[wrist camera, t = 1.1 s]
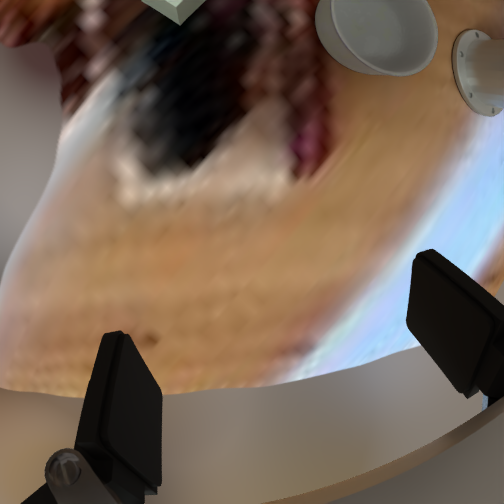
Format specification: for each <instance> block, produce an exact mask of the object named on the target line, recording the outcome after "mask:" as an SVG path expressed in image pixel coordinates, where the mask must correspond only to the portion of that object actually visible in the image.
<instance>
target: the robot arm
mask: <svg viewBox="0 0 504 504" xmlns="http://www.w3.org/2000/svg"><path fill="white" fill-rule="evenodd" d="M452 60H453V70H454V76H455V79H456V83H457V86H458V88H459V91H460V93H461V95H462V97H463V98H464V100H465V102H466V103H467V104H468V106H469V107H470V108H471V109H472V110H473V111H475V112H476V113H478V114H480V115H483V116H489V117H491V116H495V115H497V114H499V113H500V112H501V111H502V109H503V108H504V39H491V38H490V37H489V36H488V35H487V34H485V33H484V32H482V31H479V30H467V31H464V32H462V33H461V34H460V35H459V36H458V37H457V39H456V41H455V44H454V48H453V56H452ZM406 324H407V327H408V329H409V330H410V332H411V333H412V334H413V335H414V336H415V338H416V339H417V340H418V341H419V343H420V344H421V345H422V346H423V347H424V349H425V350H426V351H427V353H428V354H429V355H430V356H431V357H432V359H433V360H434V361H435V363H436V364H437V365H438V367H439V368H440V369H441V370H442V372H443V373H444V374H445V375H446V377H447V378H448V379H449V381H450V382H451V383H452V385H453V386H454V387H455V389H456V390H457V391H458V392H459V393H463V394H464V395H465V397H466V398H467V399H468V398H470V397H471V396H473V395H474V394H476V393H477V392H479V390H481V392H482V393H483V403H482V412H480V413H479V414H477V415H476V416H474V417H473V418H471V419H470V420H468V421H467V422H465V423H463V424H462V425H460V426H459V427H457V428H455V429H454V430H452V431H450V432H449V433H447V434H445V435H443V436H442V437H440V438H438V439H436V440H434V441H433V442H431V443H429V444H427V445H425V446H423V447H421V448H420V449H417V450H415V451H413V452H411V453H409V454H407V455H405V456H403V457H401V458H399V459H397V460H394V461H392V462H390V463H388V464H385V465H383V466H381V467H379V468H376V469H374V470H371V471H369V472H366V473H364V474H361V475H358V476H356V477H353V478H350V479H348V480H345V481H342V482H339V483H336V484H333V485H330V486H327V487H324V488H320V489H317V490H314V491H310V492H307V493H303V494H300V495H296V496H292V497H288V498H284V499H280V500H276V501H271V502H266V503H262V504H504V305H503V304H501V303H500V302H499V301H498V300H497V299H496V298H495V297H493V296H492V295H491V294H490V293H489V292H487V291H486V290H485V289H484V288H483V287H481V286H480V285H479V284H478V283H477V282H475V281H474V280H473V279H472V278H470V277H469V276H468V275H467V274H465V273H464V272H463V271H462V270H460V269H459V268H458V267H457V266H455V265H454V264H453V263H451V262H450V261H449V260H448V259H446V258H445V257H444V256H442V255H441V254H440V253H438V252H437V251H436V250H434V249H429V250H425V251H422V252H419V253H418V254H417V255H416V258H415V259H414V260H413V263H412V275H411V285H410V294H409V302H408V310H407V317H406ZM161 439H162V392H161V389H160V387H159V385H158V384H157V382H156V381H155V379H154V377H153V376H152V374H151V372H150V371H149V369H148V367H147V365H146V364H145V362H144V360H143V359H142V357H141V355H140V353H139V352H138V350H137V348H136V346H135V344H134V342H133V341H132V339H131V337H130V335H128V334H124V333H123V332H122V331H115V332H110V333H105V334H104V335H103V337H102V340H101V343H100V346H99V350H98V353H97V357H96V360H95V364H94V367H93V371H92V375H91V379H90V381H89V383H88V387H87V391H86V395H85V399H84V404H83V408H82V412H81V417H80V421H79V426H78V431H77V436H76V440H75V446H74V449H70V448H65V449H61V450H59V451H57V452H55V453H54V454H53V455H52V456H51V457H50V458H49V460H48V461H47V463H46V467H45V479H46V483H45V484H44V485H43V486H41V487H40V488H39V489H38V490H37V491H35V492H34V493H33V494H32V495H31V496H29V497H28V498H27V499H26V500H24V501H23V502H22V503H21V504H144V503H145V495H157V486H161V484H162V465H161V464H162V458H161V456H162V454H161V452H162V449H161V448H162V447H161V446H162V443H161V442H162V440H161Z"/></svg>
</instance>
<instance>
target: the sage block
mask: <svg viewBox="0 0 504 504" xmlns="http://www.w3.org/2000/svg"><path fill="white" fill-rule="evenodd" d="M142 1H143V2H144V3H146V4H148V5H149V6H151V7H152V8H154V9H156V10H157V11H159V12H160V13H162V14H164V15H165V16H167V17H168V18H170V19H171V20H173V21H174V22H176V23H177V24H179V25H181V24H182V23H183V22H184V21H185V20H186V19H187V18H188V17H189V16H190V15H191V14H192V13H193V12H194V11H195V10H196V9H197V8H198V7H199V6H200V5H201V4H202V3H203V2H204V1H206V0H142Z"/></svg>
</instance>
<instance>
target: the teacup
mask: <svg viewBox="0 0 504 504" xmlns="http://www.w3.org/2000/svg"><path fill="white" fill-rule="evenodd" d="M315 25H316V30H317V34H318V37H319V39H320V41H321V43H322V44H323V46H324V48H325V49H326V50H327V52H328V53H329V54H330V55H331V56H332V57H333V58H334V59H335V60H336V61H338V62H339V63H340V64H342V65H343V66H345V67H347V68H349V69H351V70H353V71H356V72H359V73H364V74H369V75H391V76H408V75H413V74H415V73H417V72H419V71H421V70H423V69H424V68H425V67H426V66H427V65H428V64H429V63H430V62H431V60H432V58H433V57H434V54H435V51H436V48H437V43H438V29H437V23H436V20H435V16H434V14H433V12H432V10H431V7H430V6H429V4H428V2H427V1H426V0H320V2H319V4H318V6H317V9H316V14H315Z"/></svg>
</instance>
